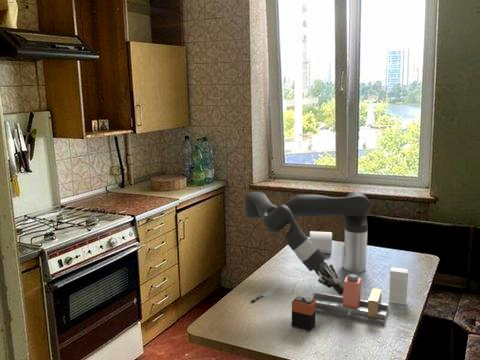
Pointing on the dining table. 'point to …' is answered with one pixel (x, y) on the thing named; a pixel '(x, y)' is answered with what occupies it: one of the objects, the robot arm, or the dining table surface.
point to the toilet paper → (322, 241)
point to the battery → (303, 313)
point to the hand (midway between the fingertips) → (342, 292)
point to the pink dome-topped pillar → (352, 291)
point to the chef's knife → (265, 294)
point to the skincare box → (398, 285)
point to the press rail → (366, 312)
